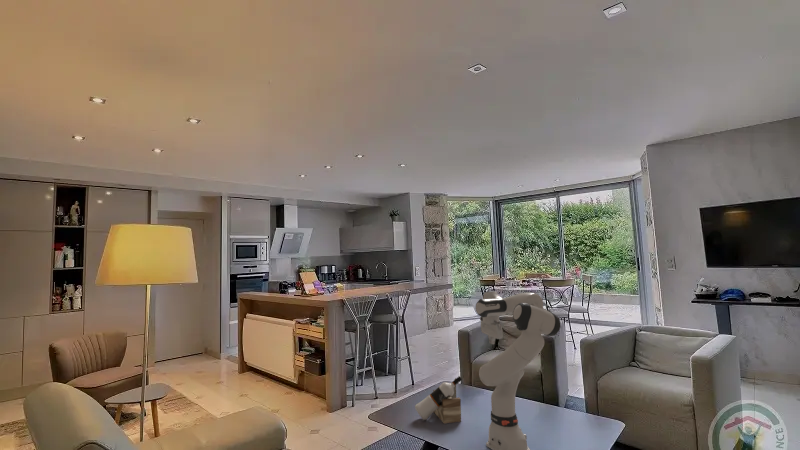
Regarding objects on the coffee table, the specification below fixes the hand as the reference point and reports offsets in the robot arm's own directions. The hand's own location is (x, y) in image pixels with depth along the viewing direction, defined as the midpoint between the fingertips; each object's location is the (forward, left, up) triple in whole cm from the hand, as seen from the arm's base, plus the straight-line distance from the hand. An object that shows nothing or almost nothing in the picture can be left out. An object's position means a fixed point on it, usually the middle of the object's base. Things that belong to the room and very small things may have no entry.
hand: (492, 343), depth 220 cm
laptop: (+24, +21, -40) cm, 51 cm away
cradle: (+5, +27, -39) cm, 48 cm away
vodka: (+4, +43, -36) cm, 56 cm away
